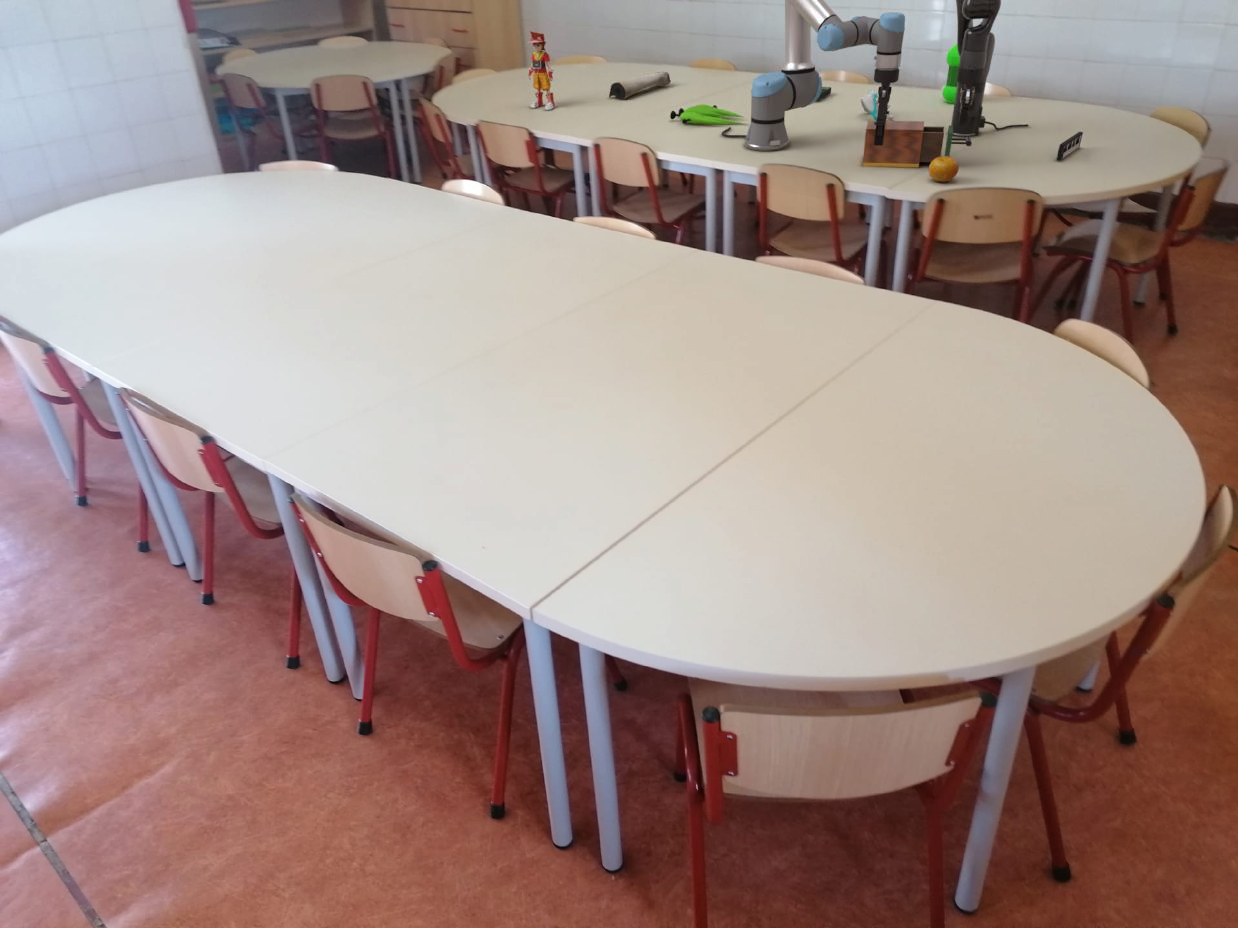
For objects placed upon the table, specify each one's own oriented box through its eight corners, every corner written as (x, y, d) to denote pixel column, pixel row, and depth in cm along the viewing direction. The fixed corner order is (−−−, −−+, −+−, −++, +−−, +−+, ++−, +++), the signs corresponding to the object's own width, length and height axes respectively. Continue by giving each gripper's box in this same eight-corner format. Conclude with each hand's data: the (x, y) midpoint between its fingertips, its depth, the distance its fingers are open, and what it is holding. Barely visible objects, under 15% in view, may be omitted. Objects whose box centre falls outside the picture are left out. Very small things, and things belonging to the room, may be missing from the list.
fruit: (922, 172, 274) (939, 148, 271) (923, 174, 282) (940, 151, 279) (945, 187, 273) (963, 164, 270) (946, 189, 281) (963, 166, 278)
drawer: (968, 156, 293) (973, 125, 287) (968, 165, 285) (973, 133, 280) (896, 155, 299) (899, 124, 293) (895, 163, 291) (898, 132, 286)
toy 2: (660, 123, 346) (729, 136, 334) (661, 109, 344) (731, 121, 331) (693, 112, 367) (760, 123, 354) (694, 98, 364) (762, 110, 351)
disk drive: (818, 102, 366) (831, 94, 376) (818, 95, 364) (831, 87, 374) (794, 100, 370) (807, 92, 380) (794, 93, 369) (808, 85, 379)
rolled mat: (651, 76, 408) (662, 61, 399) (662, 93, 408) (674, 79, 400) (605, 92, 391) (616, 77, 383) (617, 110, 391) (628, 95, 383)
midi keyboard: (1060, 160, 287) (1063, 145, 284) (1056, 160, 288) (1059, 144, 285) (1079, 147, 298) (1083, 132, 295) (1075, 147, 298) (1079, 131, 296)
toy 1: (525, 109, 381) (517, 32, 364) (534, 104, 388) (527, 28, 371) (550, 110, 377) (543, 32, 360) (559, 105, 384) (553, 28, 367)
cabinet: (919, 158, 298) (924, 121, 291) (918, 167, 290) (923, 130, 283) (864, 156, 302) (868, 120, 296) (862, 166, 294) (866, 129, 288)
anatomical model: (855, 90, 344) (881, 82, 343) (857, 117, 350) (883, 110, 349) (867, 99, 332) (894, 92, 331) (869, 127, 337) (896, 120, 337)
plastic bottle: (973, 101, 354) (984, 32, 339) (955, 106, 349) (966, 36, 335) (952, 97, 361) (962, 29, 346) (934, 102, 356) (944, 33, 342)
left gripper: (877, 60, 291) (870, 130, 303) (872, 76, 273) (865, 150, 285) (901, 60, 289) (893, 131, 301) (898, 76, 271) (889, 150, 283)
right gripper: (958, 61, 280) (949, 118, 290) (959, 70, 269) (949, 129, 279) (984, 61, 278) (974, 119, 288) (985, 70, 267) (975, 130, 277)
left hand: (879, 140), depth 293 cm, fingers closed on cabinet, 10 cm apart
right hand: (962, 124), depth 283 cm, fingers closed
